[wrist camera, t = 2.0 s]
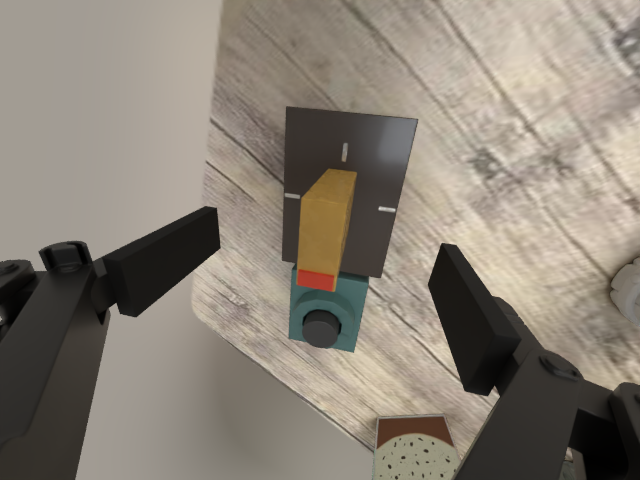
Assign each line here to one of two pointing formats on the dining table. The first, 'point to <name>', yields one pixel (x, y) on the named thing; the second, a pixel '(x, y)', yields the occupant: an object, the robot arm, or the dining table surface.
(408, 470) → the food container
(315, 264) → the lock knob
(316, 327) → the bell button
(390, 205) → the lock plate
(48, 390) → the robot arm
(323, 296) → the push button box
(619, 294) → the mug
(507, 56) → the dining table surface
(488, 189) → the dining table surface
